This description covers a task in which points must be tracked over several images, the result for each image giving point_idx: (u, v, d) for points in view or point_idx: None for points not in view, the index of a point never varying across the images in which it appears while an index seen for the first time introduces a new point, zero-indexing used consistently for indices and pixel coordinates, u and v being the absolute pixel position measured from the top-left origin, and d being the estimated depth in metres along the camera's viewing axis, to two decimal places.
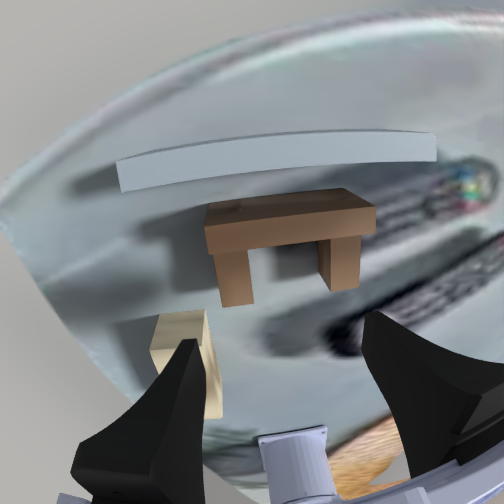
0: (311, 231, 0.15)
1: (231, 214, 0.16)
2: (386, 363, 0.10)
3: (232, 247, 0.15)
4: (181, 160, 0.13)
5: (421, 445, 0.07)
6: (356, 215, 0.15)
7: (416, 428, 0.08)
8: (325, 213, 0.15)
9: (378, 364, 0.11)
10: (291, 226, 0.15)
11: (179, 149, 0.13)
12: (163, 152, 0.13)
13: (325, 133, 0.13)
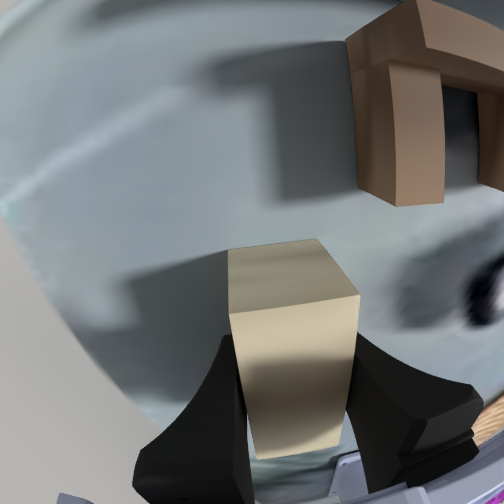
0: None
1: None
2: None
3: (461, 49, 0.05)
4: None
5: (375, 462, 0.07)
6: None
7: (370, 444, 0.08)
8: None
9: None
10: None
11: None
12: None
13: None
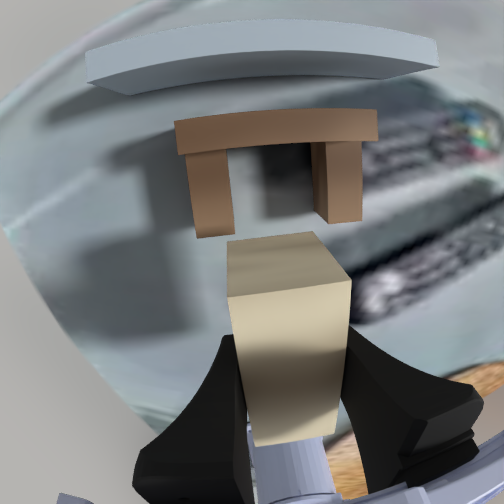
0: (301, 130, 0.12)
1: None
2: (345, 373, 0.10)
3: (207, 145, 0.12)
4: (153, 44, 0.10)
5: (375, 462, 0.07)
6: (354, 116, 0.12)
7: (370, 444, 0.08)
8: (318, 110, 0.12)
9: None
10: (277, 122, 0.12)
11: (152, 34, 0.09)
12: (135, 38, 0.09)
13: (312, 21, 0.10)
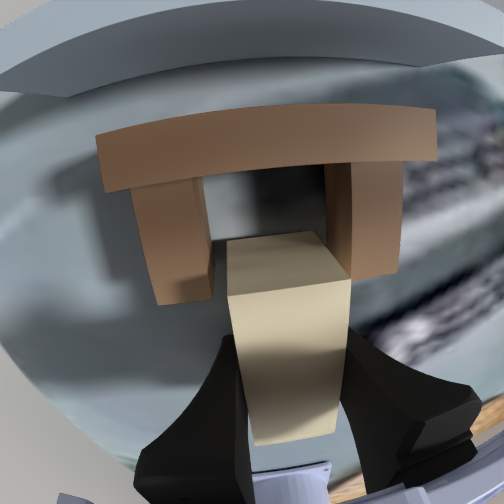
0: (317, 142, 0.07)
1: None
2: (343, 374, 0.10)
3: (149, 175, 0.07)
4: (59, 12, 0.04)
5: (373, 463, 0.07)
6: (403, 120, 0.07)
7: (368, 444, 0.08)
8: (345, 107, 0.07)
9: None
10: (273, 129, 0.07)
11: None
12: (37, 9, 0.04)
13: None
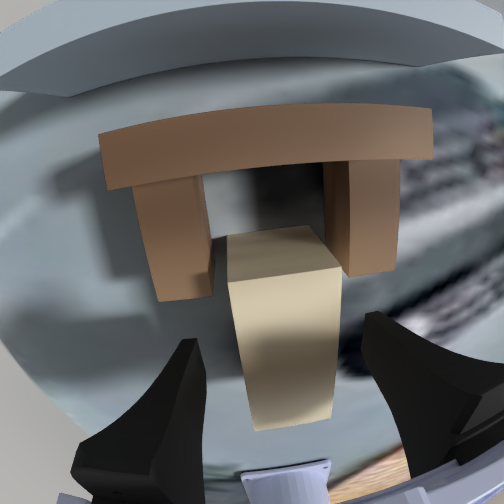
0: (315, 141, 0.07)
1: None
2: (386, 363, 0.10)
3: (151, 173, 0.07)
4: (63, 14, 0.04)
5: (421, 445, 0.07)
6: (400, 119, 0.07)
7: (416, 428, 0.08)
8: (342, 107, 0.07)
9: (378, 364, 0.11)
10: (272, 128, 0.07)
11: None
12: (40, 11, 0.04)
13: None
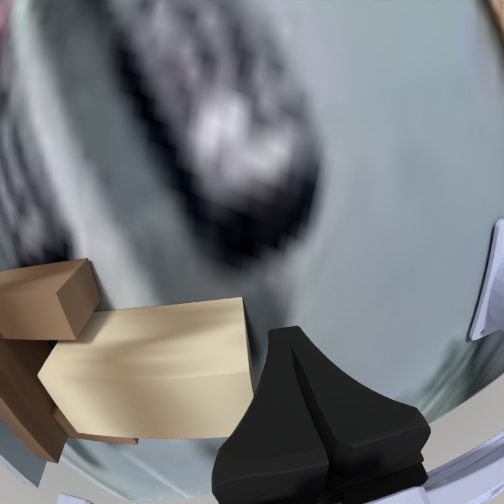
0: None
1: None
2: None
3: (42, 450, 0.10)
4: (0, 459, 0.09)
5: None
6: None
7: None
8: None
9: None
10: None
11: None
12: (2, 464, 0.10)
13: None
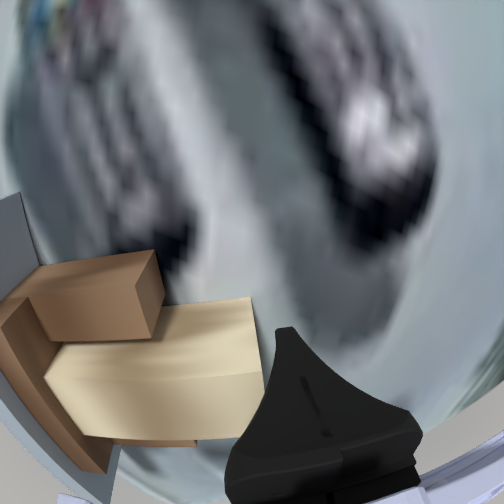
0: (38, 405, 0.08)
1: None
2: None
3: (90, 461, 0.10)
4: (67, 483, 0.09)
5: None
6: None
7: None
8: (14, 389, 0.08)
9: None
10: (44, 421, 0.09)
11: (60, 481, 0.10)
12: (67, 487, 0.10)
13: None
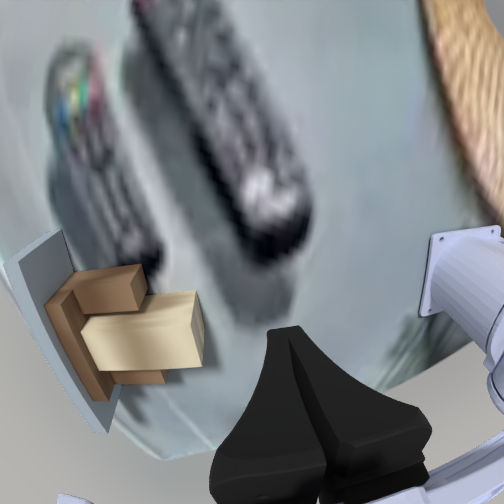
0: (74, 350, 0.17)
1: None
2: (298, 383, 0.10)
3: (100, 391, 0.19)
4: (83, 410, 0.19)
5: None
6: (54, 320, 0.16)
7: None
8: (60, 341, 0.17)
9: None
10: (76, 361, 0.18)
11: (78, 410, 0.19)
12: (82, 416, 0.19)
13: (40, 347, 0.16)
